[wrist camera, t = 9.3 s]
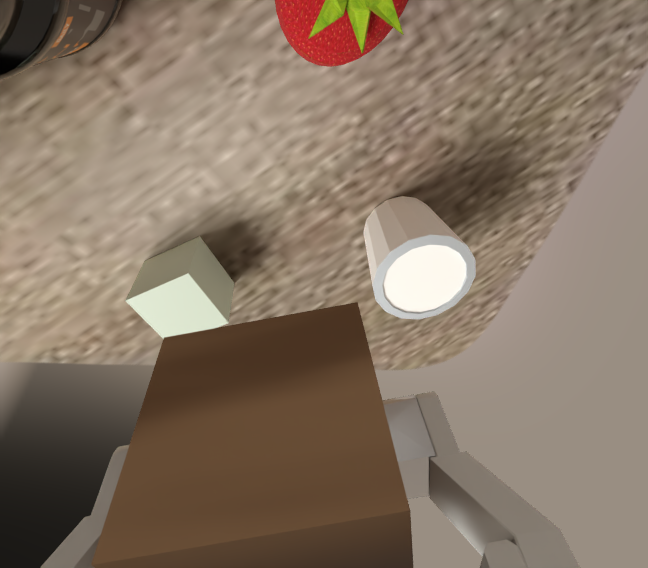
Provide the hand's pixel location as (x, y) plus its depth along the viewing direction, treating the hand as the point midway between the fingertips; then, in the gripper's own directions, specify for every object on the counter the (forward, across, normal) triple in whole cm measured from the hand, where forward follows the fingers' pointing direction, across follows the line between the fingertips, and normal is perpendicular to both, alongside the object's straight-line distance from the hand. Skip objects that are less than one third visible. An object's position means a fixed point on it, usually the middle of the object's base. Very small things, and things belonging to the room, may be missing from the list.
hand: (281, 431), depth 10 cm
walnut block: (+2, 0, 0) cm, 2 cm away
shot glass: (+21, -8, +8) cm, 24 cm away
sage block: (+21, +9, +8) cm, 24 cm away
